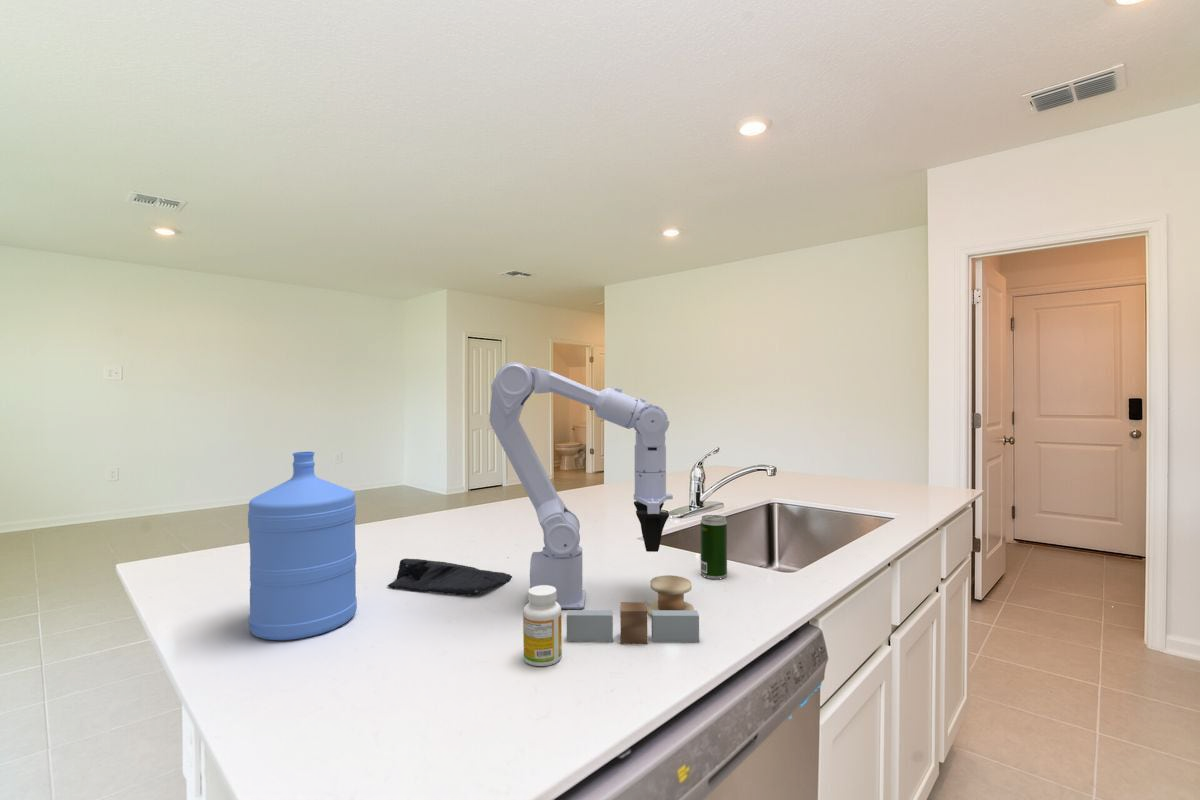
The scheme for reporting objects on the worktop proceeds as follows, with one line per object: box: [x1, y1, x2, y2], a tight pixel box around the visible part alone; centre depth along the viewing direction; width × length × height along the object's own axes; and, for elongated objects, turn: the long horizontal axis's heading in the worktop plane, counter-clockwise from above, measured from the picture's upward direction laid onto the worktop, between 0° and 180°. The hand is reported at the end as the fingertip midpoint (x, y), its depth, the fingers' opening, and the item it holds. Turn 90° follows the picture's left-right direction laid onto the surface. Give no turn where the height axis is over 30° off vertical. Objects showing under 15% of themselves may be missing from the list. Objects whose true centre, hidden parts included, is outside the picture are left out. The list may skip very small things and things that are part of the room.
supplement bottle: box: [522, 585, 563, 667], centre depth 76 cm, size 5×5×10 cm
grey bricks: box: [566, 609, 700, 643], centre depth 82 cm, size 20×2×4 cm, turn 89°
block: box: [619, 601, 648, 645], centre depth 82 cm, size 4×4×5 cm
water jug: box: [247, 451, 358, 641], centre depth 89 cm, size 16×16×28 cm
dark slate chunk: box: [387, 558, 513, 596], centre depth 108 cm, size 15×22×5 cm
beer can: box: [700, 514, 728, 580], centre depth 111 cm, size 5×5×12 cm
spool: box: [646, 574, 696, 618], centre depth 92 cm, size 8×8×5 cm
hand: (650, 545), depth 98 cm, fingers open, 7 cm apart
